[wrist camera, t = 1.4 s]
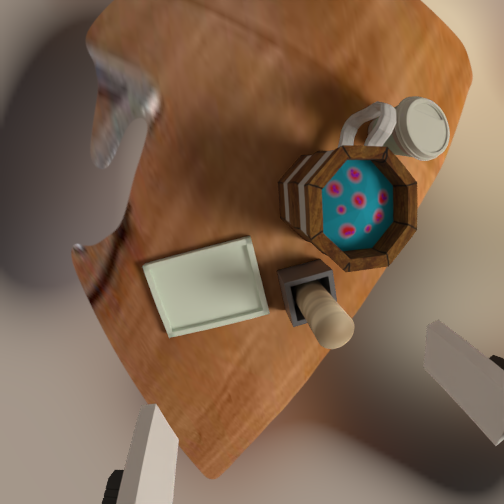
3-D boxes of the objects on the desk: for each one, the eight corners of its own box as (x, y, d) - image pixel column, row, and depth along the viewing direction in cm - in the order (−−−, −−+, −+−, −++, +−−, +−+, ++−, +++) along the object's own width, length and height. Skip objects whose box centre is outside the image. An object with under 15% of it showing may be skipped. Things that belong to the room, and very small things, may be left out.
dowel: (287, 277, 44) (314, 320, 30) (315, 269, 44) (352, 308, 30) (292, 303, 45) (319, 353, 31) (319, 295, 45) (355, 341, 31)
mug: (345, 253, 44) (395, 287, 30) (263, 227, 42) (284, 254, 28) (383, 136, 40) (444, 125, 26) (304, 100, 38) (344, 67, 24)
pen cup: (276, 270, 44) (284, 283, 39) (319, 258, 44) (332, 269, 39) (285, 310, 46) (293, 326, 40) (326, 298, 46) (338, 313, 41)
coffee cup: (412, 136, 41) (460, 130, 29) (386, 172, 42) (433, 174, 30) (378, 99, 39) (422, 81, 27) (349, 134, 40) (390, 123, 28)
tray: (144, 263, 42) (142, 266, 40) (249, 235, 42) (250, 237, 41) (170, 333, 45) (169, 337, 44) (268, 309, 45) (269, 313, 44)
